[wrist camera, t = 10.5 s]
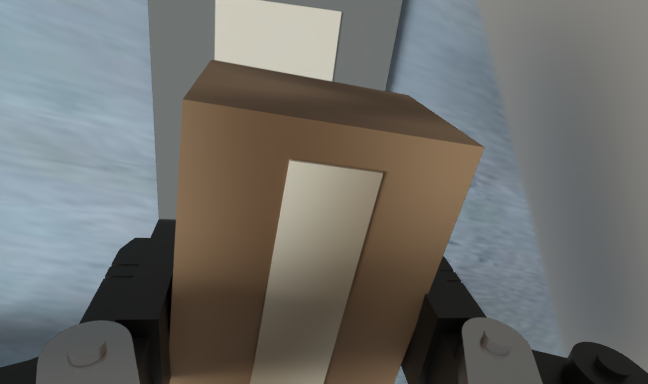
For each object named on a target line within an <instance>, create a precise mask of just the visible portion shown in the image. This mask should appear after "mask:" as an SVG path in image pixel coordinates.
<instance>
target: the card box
mask: <svg viewBox="0 0 648 384" xmlns="http://www.w3.org/2000/svg"><path fill="white" fill-rule="evenodd" d="M484 148H485V147H483V146H482V145H480V144H479V143H478V142H476V141H475V140H473V139H472V138H470V137H469V136H467V135H466V134H464V133H463V132H461V131H460V130H458V129H457V128H456V127H454V126H453V125H451V124H450V123H448V122H447V121H445V120H444V119H442V118H441V117H439V116H438V115H436V114H435V113H434V112H432V111H431V110H429V109H428V108H426V107H425V106H423V105H422V104H420V103H419V102H417V101H416V100H415V99H413V98H412V97H410V96H409V95H404V94H398V93H393V92H387V91H382V90H376V89H371V88H365V87H360V86H354V85H349V84H343V83H338V82H332V81H327V80H321V79H316V78H311V77H305V76H300V75H294V74H289V73H283V72H278V71H272V70H267V69H261V68H256V67H250V66H245V65H239V64H234V63H228V62H223V61H217V60H212V59H211V61H210V62H209V63H208V65H207V66H206V68H205V69H204V70H203V72H202V73H201V74H200V76H199V77H198V79H197V80H196V81H195V83H194V84H193V86H192V87H191V88H190V90H189V91H188V93H187V94H186V95H185V97H184V98H183V102H182V121H181V139H180V157H179V175H178V193H177V211H176V229H175V247H174V266H173V284H172V302H171V320H170V338H169V352H170V371H171V379H170V383H169V384H394V381H395V379H396V376H397V374H398V371H399V368H400V366H401V363H402V361H403V358H404V355H405V353H406V350H407V348H408V345H409V342H410V340H411V337H412V335H413V332H414V329H415V327H416V324H417V320H418V317H419V313H420V310H421V307H422V303H423V300H424V296H425V294H428V293H429V291H430V288H431V285H432V283H433V280H434V278H435V275H436V272H437V270H438V267H439V265H440V262H441V259H442V257H443V254H444V252H445V249H446V246H447V244H448V241H449V239H450V236H451V233H452V231H453V228H454V226H455V223H456V221H457V218H458V215H459V213H460V210H461V208H462V205H463V202H464V200H465V197H466V195H467V192H468V189H469V187H470V184H471V182H472V179H473V176H474V174H475V171H476V169H477V166H478V163H479V161H480V158H481V156H482V153H483V150H484Z"/></svg>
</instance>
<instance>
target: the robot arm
mask: <svg viewBox="0 0 648 384" xmlns="http://www.w3.org/2000/svg"><path fill="white" fill-rule="evenodd" d="M175 229H176V219H159V220H158V222H157V225H156V227H155V229H154V231H153V234H152V236H151V238H134V239H133V240H132V241H130V242H129V243H128V244H126V245H125V246H124V247H122V248H121V249H120V250H119V251H118V253H117V255H116V257H115V259H114V261H113V262H112V266H111V267H110V268H109V270H108V272H107V274H106V275H105V279H103V281H102V283H101V285H100V286H99V288H98V290H97V292H96V294H95V296H94V298H93V299H92V301H91V303H90V305H89V307H88V309H87V310H86V312H85V314H84V316H83V318H82V320H81V322H80V323H79V324H78V325H75V326H73V327H70V328H68V329H66V330H64V331H63V332H61V333H59V334H58V335H56V336H55V337H54V338H53V339H51V340H50V341H49V342H48V343H47V344H46V345H45V347H44V348H43V350H42V351H41V353H40V355H39V357H36V358H34V359H31V360H28V361H24V362H21V363H17V364H13V365H9V366H5V367H1V368H0V384H169V383H170V379H171V371H170V352H169V338H170V320H171V302H172V284H173V266H174V247H175ZM401 366H402V369H403V372H404V374H405V377H406V379H407V382H408V384H648V373H647V372H646V371H644V370H643V369H642V368H640V367H639V366H638V365H637V364H635V363H634V362H633V361H631V360H630V359H629V358H627V357H626V356H624V355H623V354H621V353H619V352H618V351H616V350H614V349H611V348H609V347H607V346H604V345H601V344H597V343H593V342H581V343H578V344H576V345H575V346H574V347H573V349H572V350H571V352H570V354H569V356H568V358H564V357H560V356H556V355H551V354H547V353H543V352H539V351H535V350H531V347H530V345H529V344H528V342H527V341H526V340H525V339H524V337H523V336H522V335H520V334H519V333H518V332H517V331H516V330H514V329H513V328H511V327H510V326H508V325H506V324H504V323H502V322H500V321H497V320H494V319H490V318H487V317H486V316H485V314H484V313H483V311H482V310H481V308H480V307H479V306H478V304H477V303H476V301H475V300H474V299H473V297H472V296H471V294H470V293H469V291H468V290H467V289H466V287H465V286H464V284H463V283H461V280H460V279H459V277H458V276H457V274H456V273H455V272H453V269H452V267H451V266H450V264H449V263H448V262H447V260H446V259H445V257H442V259H441V262H440V265H439V267H438V270H437V272H436V275H435V278H434V280H433V283H432V285H431V288H430V291H429V293H428V294H425V296H424V300H423V303H422V307H421V310H420V313H419V317H418V320H417V324H416V327H415V329H414V332H413V335H412V337H411V340H410V342H409V345H408V348H407V350H406V353H405V355H404V358H403V361H402V363H401Z"/></svg>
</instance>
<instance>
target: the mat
mask: <svg viewBox="0 0 648 384" xmlns="http://www.w3.org/2000/svg"><path fill="white" fill-rule="evenodd" d="M402 1H403V0H148V13H149V33H150V52H151V72H152V92H153V111H154V131H155V151H156V171H157V190H158V210H159V219H176V211H177V193H178V175H179V157H180V139H181V121H182V102H183V98H184V97H185V95H186V94H187V93H188V91H189V90H190V88H191V87H192V86H193V84H194V83H195V81H196V80H197V79H198V77H199V76H200V74H201V73H202V72H203V70H204V69H205V68H206V66H207V65H208V63H209V62H210V61H211V59H212V60H217V61H223V62H228V63H234V64H239V65H245V66H250V67H256V68H261V69H267V70H272V71H278V72H283V73H289V74H294V75H300V76H305V77H311V78H316V79H321V80H327V81H332V82H338V83H343V84H349V85H354V86H360V87H365V88H371V89H376V90H382V91H385V90H386V84H387V79H388V74H389V69H390V64H391V58H392V53H393V48H394V43H395V38H396V32H397V27H398V22H399V17H400V11H401V6H402Z"/></svg>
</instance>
